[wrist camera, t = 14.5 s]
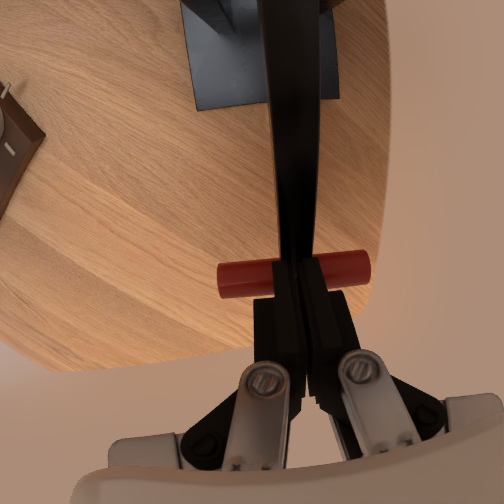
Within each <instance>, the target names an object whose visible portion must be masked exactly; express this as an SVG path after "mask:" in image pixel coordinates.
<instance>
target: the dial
mask: <svg viewBox="0 0 504 504" xmlns="http://www.w3.org/2000/svg"><path fill="white" fill-rule="evenodd" d="M3 131H4V117H3V113H2V110H1V108H0V139H1V137H2V135H3Z"/></svg>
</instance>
